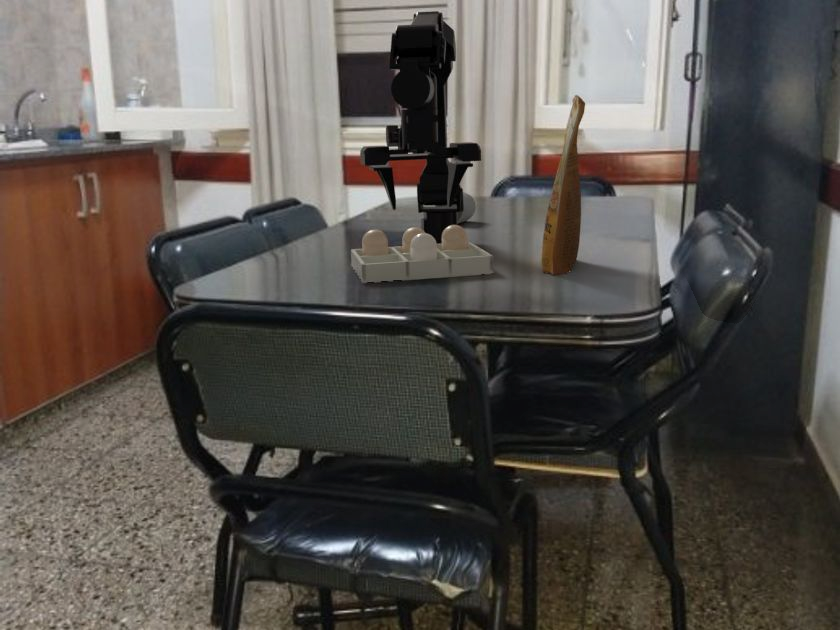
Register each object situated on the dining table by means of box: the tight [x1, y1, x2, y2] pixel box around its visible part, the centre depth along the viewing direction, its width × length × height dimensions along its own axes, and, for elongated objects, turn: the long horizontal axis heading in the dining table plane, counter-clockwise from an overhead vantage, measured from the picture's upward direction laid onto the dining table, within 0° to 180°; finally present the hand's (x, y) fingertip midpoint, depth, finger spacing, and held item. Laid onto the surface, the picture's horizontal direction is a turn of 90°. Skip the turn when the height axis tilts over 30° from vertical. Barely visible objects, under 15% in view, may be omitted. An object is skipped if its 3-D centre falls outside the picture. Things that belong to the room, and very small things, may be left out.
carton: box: [350, 224, 494, 284], centre depth 132 cm, size 22×15×7 cm
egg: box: [410, 233, 437, 261], centre depth 129 cm, size 4×4×6 cm
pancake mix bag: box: [541, 94, 586, 276], centre depth 129 cm, size 7×19×28 cm, turn 164°
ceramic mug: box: [434, 191, 476, 225], centre depth 186 cm, size 11×8×8 cm
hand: (421, 208), depth 127 cm, fingers open, 9 cm apart
